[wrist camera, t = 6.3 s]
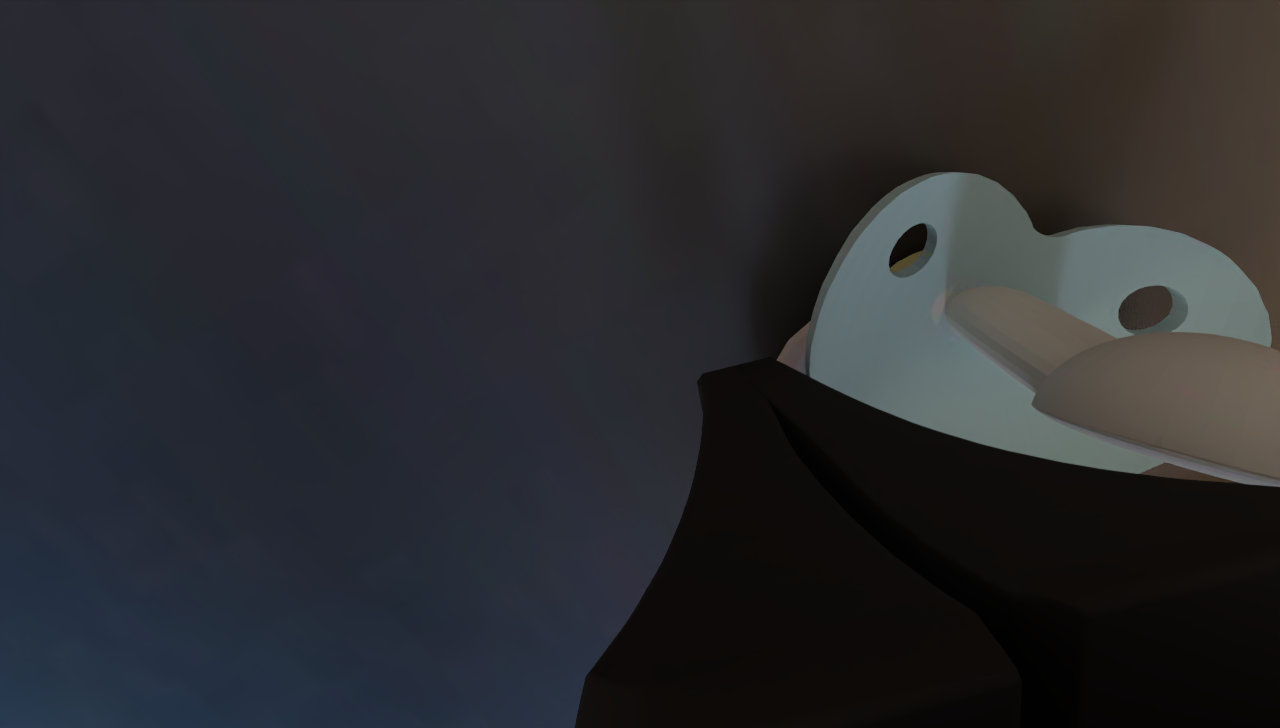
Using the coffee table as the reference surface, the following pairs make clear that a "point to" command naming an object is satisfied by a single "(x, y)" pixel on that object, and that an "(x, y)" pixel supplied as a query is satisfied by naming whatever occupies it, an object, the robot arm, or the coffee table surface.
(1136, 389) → the pacifier
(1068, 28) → the coffee table surface
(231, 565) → the coffee table surface
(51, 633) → the coffee table surface
